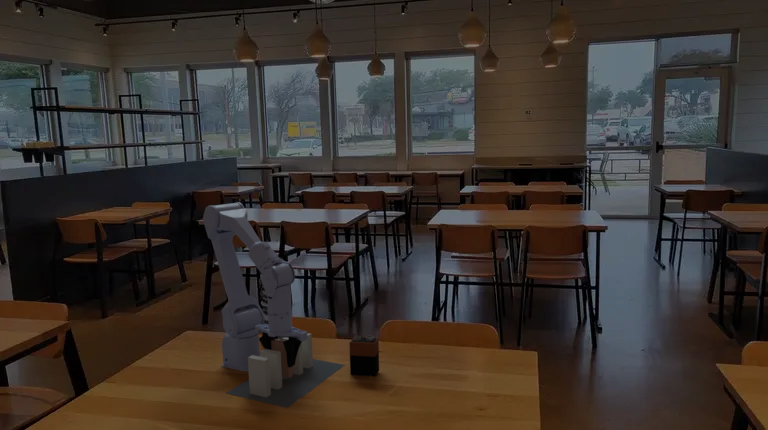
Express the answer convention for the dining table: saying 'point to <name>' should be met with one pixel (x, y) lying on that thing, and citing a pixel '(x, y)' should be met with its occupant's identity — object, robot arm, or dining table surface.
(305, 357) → the domino
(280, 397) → the mat
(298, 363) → the domino
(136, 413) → the dining table surface
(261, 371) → the domino
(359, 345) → the battery
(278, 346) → the domino
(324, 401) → the dining table surface
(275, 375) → the domino
